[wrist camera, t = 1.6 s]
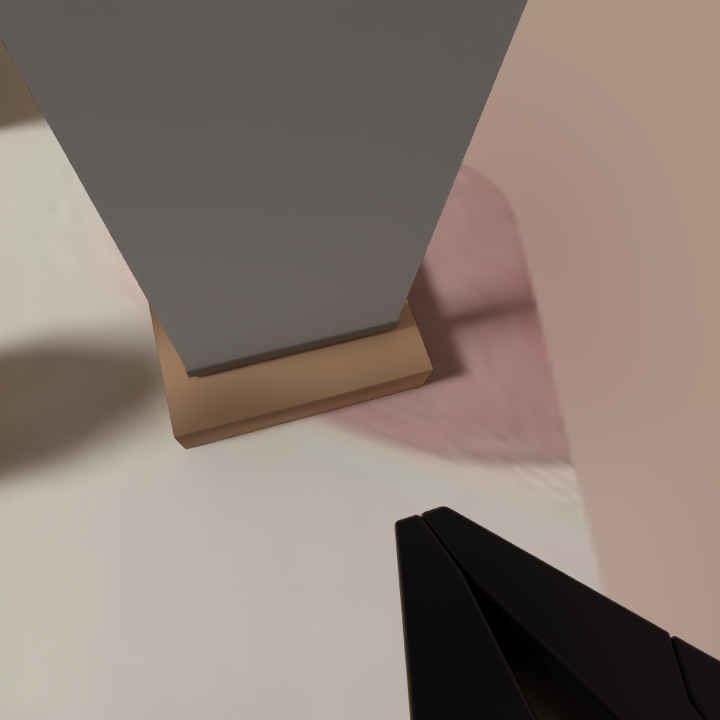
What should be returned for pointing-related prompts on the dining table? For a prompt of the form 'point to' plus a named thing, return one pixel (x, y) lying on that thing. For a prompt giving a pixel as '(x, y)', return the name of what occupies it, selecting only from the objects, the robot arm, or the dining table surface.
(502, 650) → the robot arm
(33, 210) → the dining table surface
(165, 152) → the grey rectangular panel
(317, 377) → the ticket block
